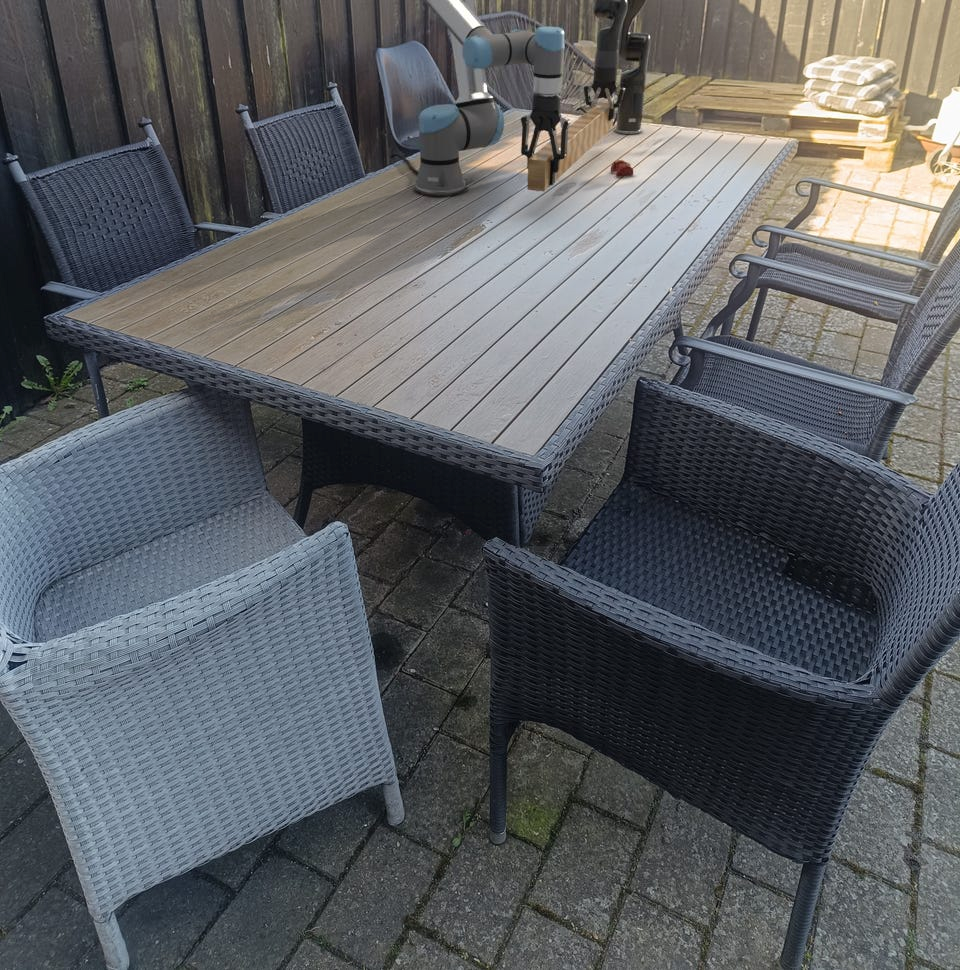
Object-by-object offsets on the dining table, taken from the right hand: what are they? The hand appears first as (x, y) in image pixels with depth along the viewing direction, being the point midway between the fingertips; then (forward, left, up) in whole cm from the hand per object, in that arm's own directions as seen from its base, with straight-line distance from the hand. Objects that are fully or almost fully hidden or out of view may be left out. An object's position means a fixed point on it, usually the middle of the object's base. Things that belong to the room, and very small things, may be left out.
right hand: (601, 119), depth 285 cm
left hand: (+53, -39, -3) cm, 66 cm away
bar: (+27, -20, -4) cm, 33 cm away
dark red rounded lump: (+25, -2, -12) cm, 27 cm away
